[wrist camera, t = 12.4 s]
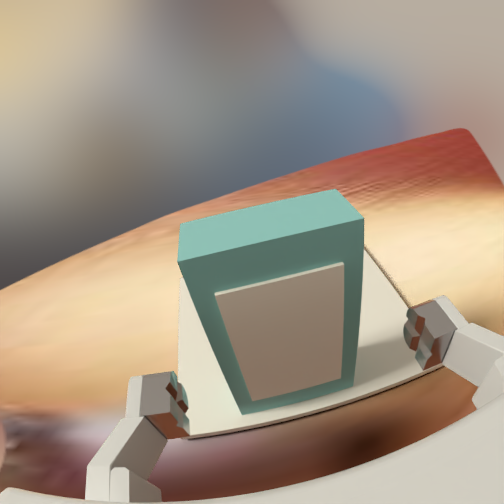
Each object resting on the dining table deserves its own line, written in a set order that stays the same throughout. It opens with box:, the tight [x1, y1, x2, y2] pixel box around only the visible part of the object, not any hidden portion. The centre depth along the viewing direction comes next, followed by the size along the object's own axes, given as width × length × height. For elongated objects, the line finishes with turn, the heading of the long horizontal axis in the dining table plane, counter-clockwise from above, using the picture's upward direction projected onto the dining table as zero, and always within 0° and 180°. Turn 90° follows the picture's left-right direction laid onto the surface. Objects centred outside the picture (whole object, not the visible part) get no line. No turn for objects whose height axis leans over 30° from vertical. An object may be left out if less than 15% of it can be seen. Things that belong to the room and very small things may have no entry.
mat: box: [178, 249, 443, 439], centre depth 21 cm, size 15×14×1 cm
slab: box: [177, 189, 364, 415], centre depth 14 cm, size 6×3×10 cm, turn 99°
